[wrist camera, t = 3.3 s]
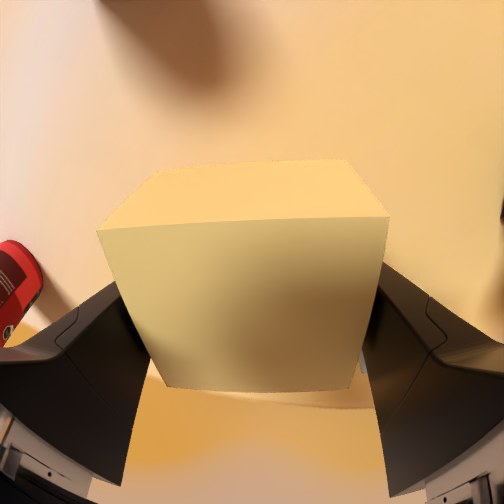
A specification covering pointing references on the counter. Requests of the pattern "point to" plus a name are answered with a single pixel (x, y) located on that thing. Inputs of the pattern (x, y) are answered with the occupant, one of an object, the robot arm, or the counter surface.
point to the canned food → (16, 286)
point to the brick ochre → (250, 273)
